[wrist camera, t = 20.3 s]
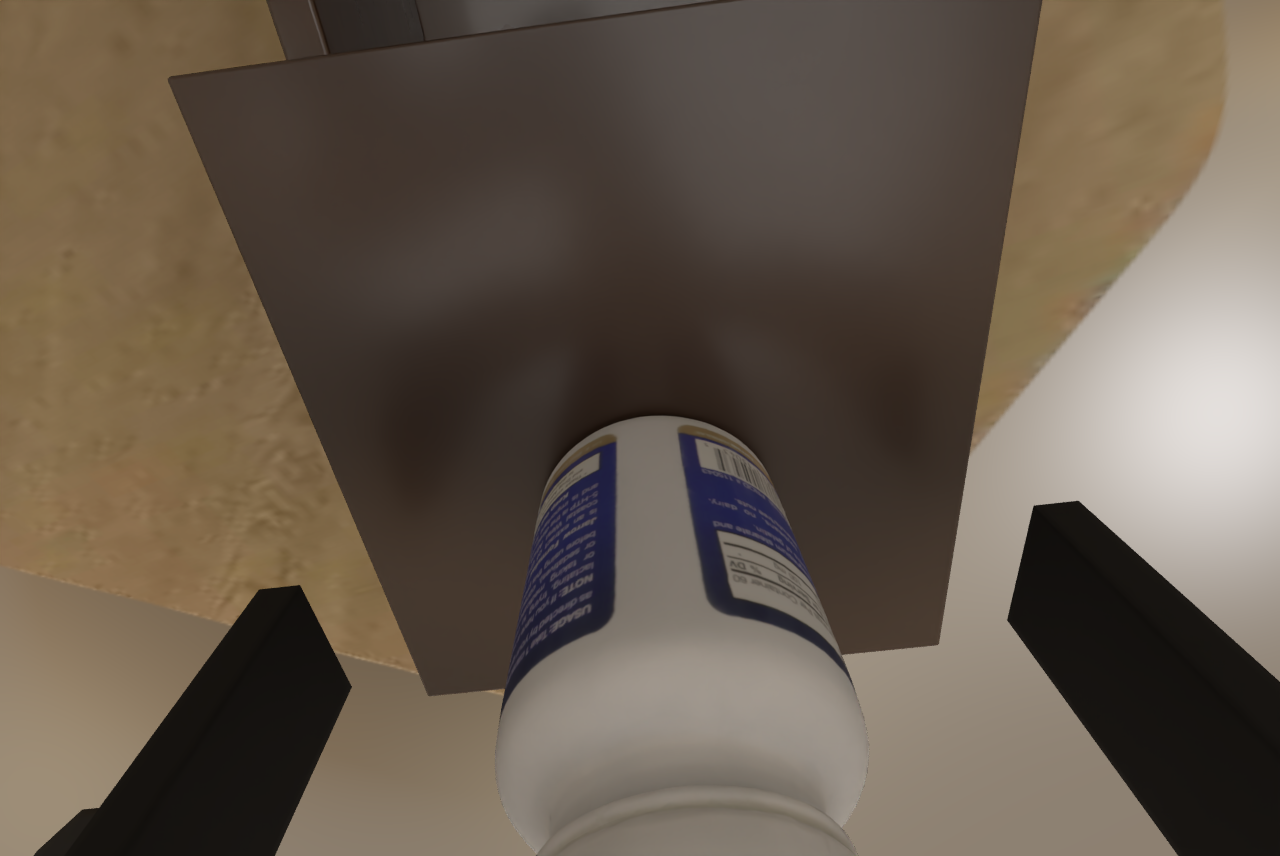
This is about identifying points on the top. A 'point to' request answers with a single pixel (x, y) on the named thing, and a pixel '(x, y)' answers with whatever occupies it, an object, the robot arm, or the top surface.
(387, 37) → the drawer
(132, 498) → the top surface
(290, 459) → the top surface
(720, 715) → the pill bottle
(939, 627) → the brown rectangular box
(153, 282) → the top surface
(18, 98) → the top surface
